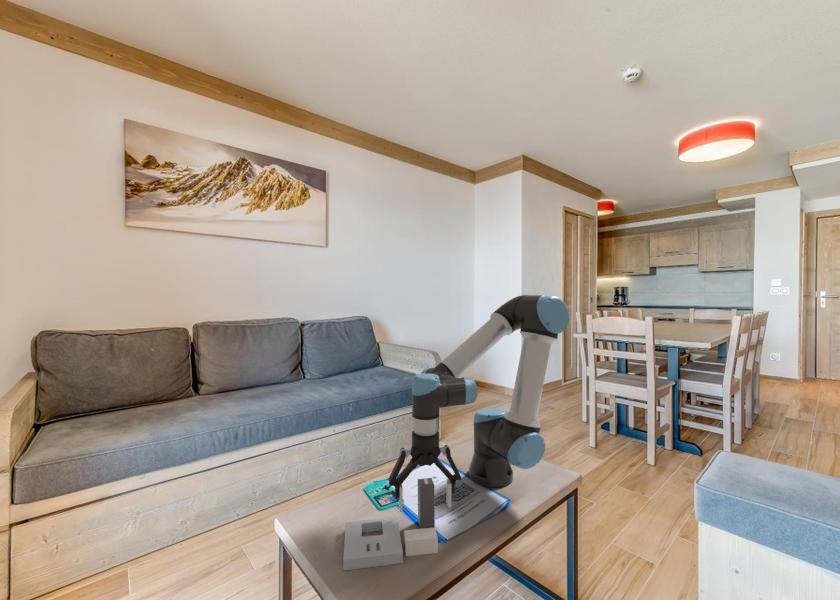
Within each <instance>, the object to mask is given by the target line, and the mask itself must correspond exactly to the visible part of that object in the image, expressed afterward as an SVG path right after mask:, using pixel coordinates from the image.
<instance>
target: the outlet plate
mask: <svg viewBox="0 0 840 600" xmlns="http://www.w3.org/2000/svg"><path fill="white" fill-rule="evenodd" d="M344 531H345V532H344V543H343V556H342V557H343V560H342V561H343V562H342V563H343V565H342V569H343V571H351V570H359V569H366V568H374V567H375V568H376V567H382V566H390V565H398V564H403V563H404V551H403V545H402V538H401V531H400V526H399V520H398V516H392V517H384V518H374V519H365V520H363V519H362V520H357V521H354V520H353V521H346V522H345V529H344ZM381 531H382V534H377V535H369V536H363V535H362V534H363V533H369V532H381Z"/></svg>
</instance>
